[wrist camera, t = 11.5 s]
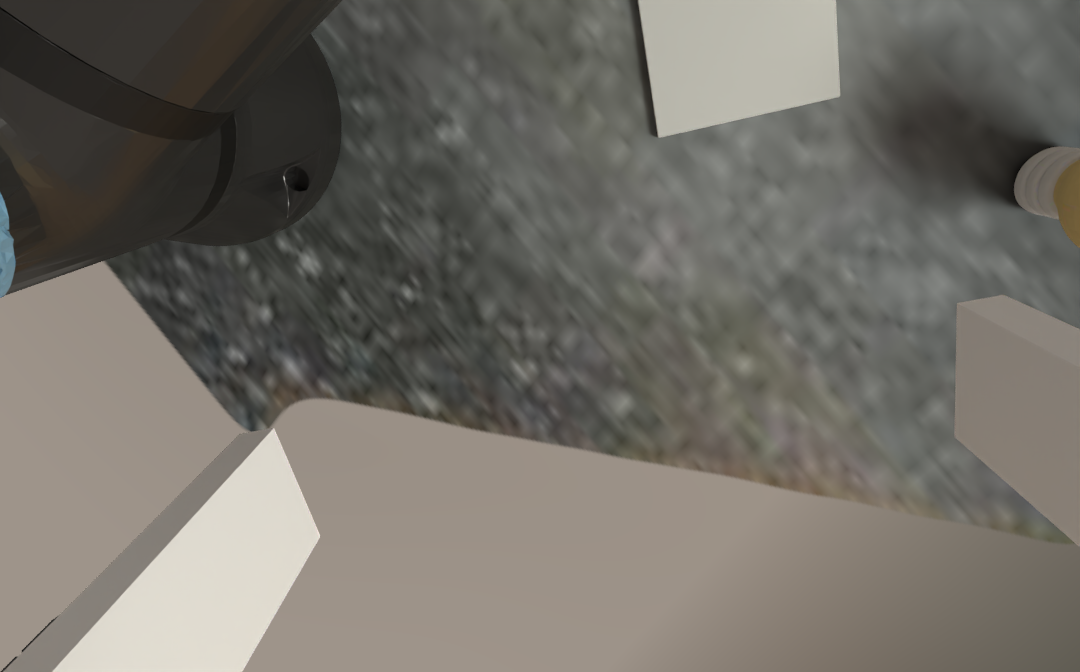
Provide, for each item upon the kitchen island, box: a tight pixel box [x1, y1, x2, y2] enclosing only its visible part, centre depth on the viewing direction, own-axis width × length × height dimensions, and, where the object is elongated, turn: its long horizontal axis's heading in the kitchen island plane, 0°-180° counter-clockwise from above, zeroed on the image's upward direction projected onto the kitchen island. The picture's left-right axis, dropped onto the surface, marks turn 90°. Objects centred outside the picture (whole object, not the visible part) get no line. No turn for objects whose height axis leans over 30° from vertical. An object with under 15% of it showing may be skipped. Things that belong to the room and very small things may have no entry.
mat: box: [638, 0, 840, 138], centre depth 33 cm, size 10×10×1 cm
